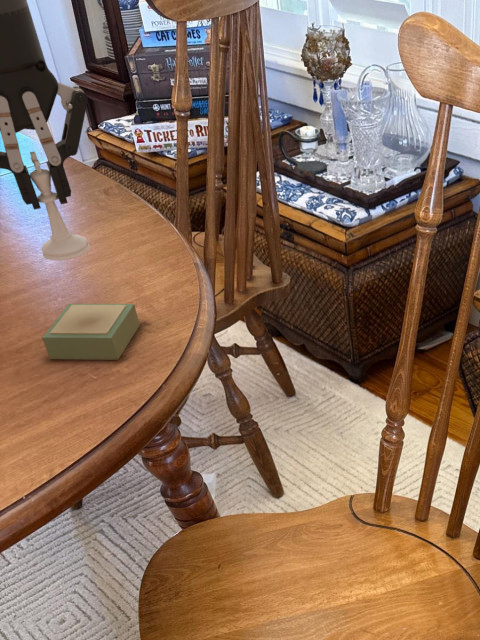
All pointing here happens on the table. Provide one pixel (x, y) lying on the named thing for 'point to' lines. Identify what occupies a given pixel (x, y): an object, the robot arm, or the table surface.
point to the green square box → (92, 331)
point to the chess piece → (56, 220)
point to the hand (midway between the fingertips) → (49, 203)
